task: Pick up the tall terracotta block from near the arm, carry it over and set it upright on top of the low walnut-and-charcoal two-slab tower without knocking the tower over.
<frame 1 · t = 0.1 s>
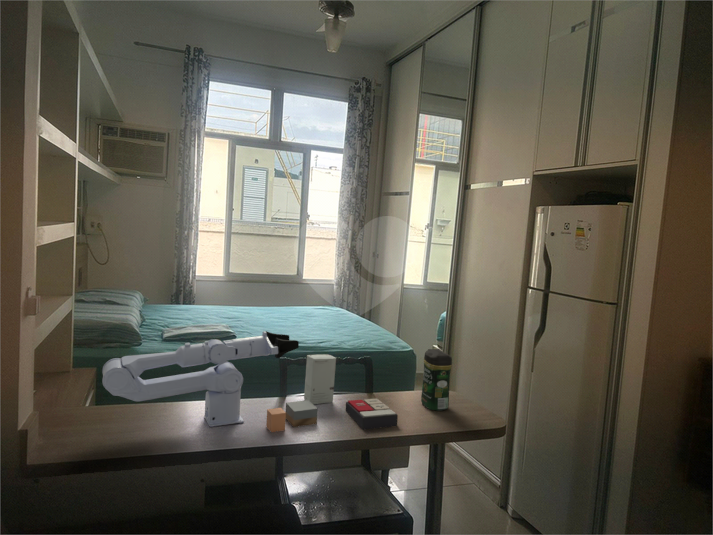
hand: (293, 341, 143), 22 cm above the table, tool horizontal, fingers open, 7 cm apart
tower base slab: (300, 422, 137), on the table, touching tower top slab
terracotta block: (275, 428, 131), on the table
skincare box: (318, 401, 154), on the table
coffee jar: (434, 406, 156), on the table
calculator: (370, 419, 143), on the table
tower top slab: (301, 413, 137), point 2 cm above the table, touching tower base slab
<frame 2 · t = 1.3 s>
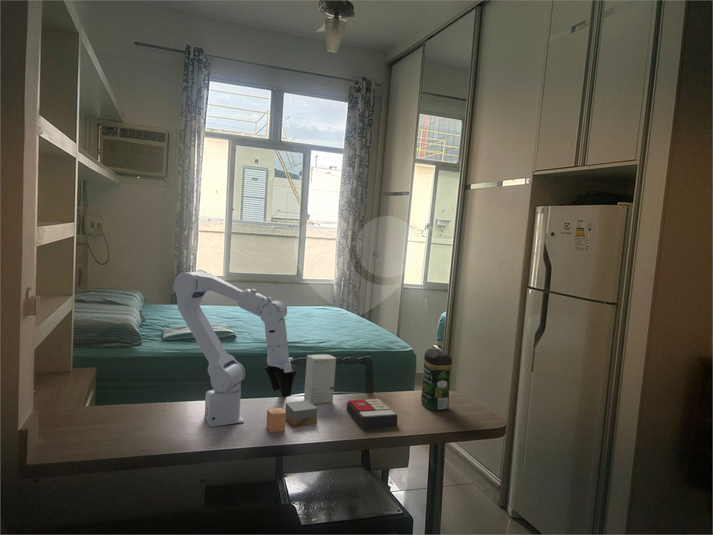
hand: (281, 393, 131), 10 cm above the table, tool pointing down, fingers open, 7 cm apart
nothing on the table moved.
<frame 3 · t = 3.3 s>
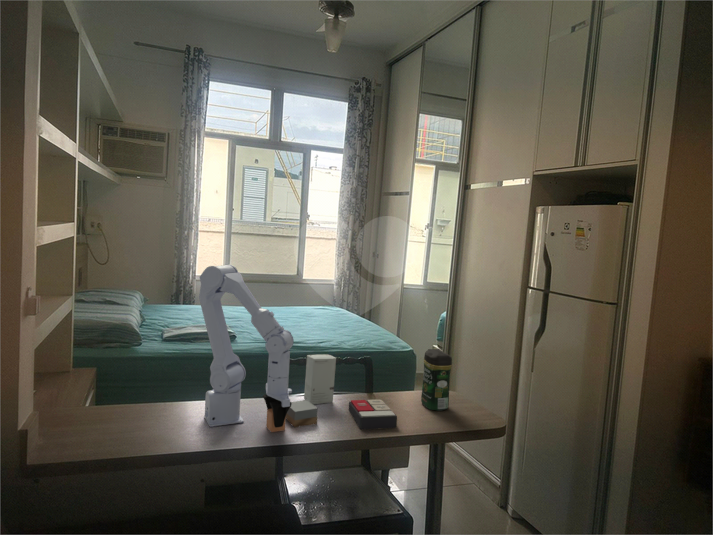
hand: (275, 423, 131), 1 cm above the table, tool pointing down, fingers closed on terracotta block, 4 cm apart
tower base slab: (300, 422, 137), on the table
terracotta block: (275, 428, 131), on the table, touching gripper
tower top slab: (300, 413, 137), point 2 cm above the table
everything else where it was.
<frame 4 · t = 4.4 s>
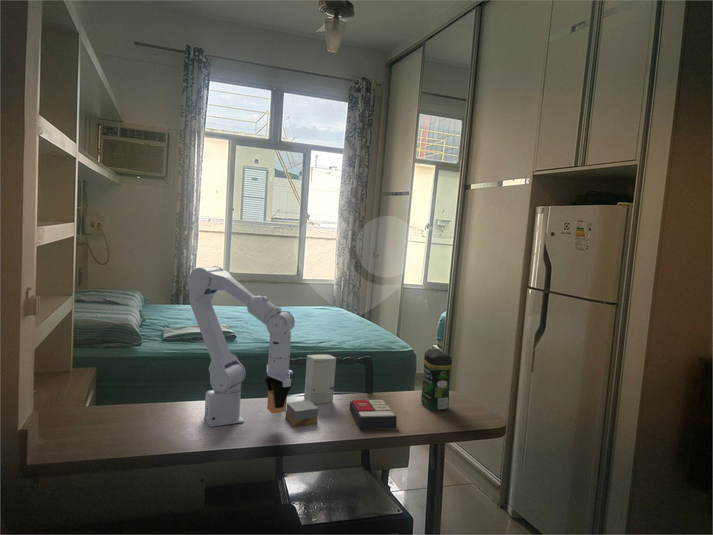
hand: (276, 404, 131), 7 cm above the table, tool pointing down, fingers closed on terracotta block, 4 cm apart
tower base slab: (300, 422, 137), on the table, touching tower top slab
terracotta block: (276, 409, 131), point 5 cm above the table, touching gripper
tower top slab: (302, 413, 137), point 2 cm above the table, touching tower base slab
everything else where it was.
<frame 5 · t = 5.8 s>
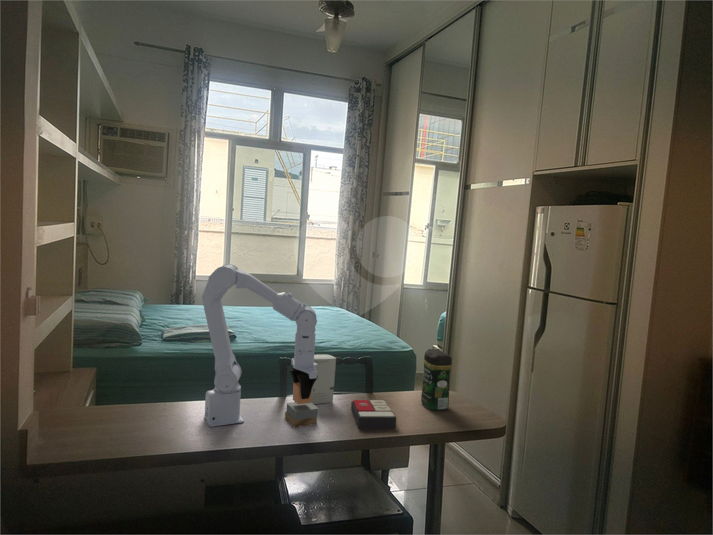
hand: (302, 395, 137), 7 cm above the table, tool pointing down, fingers closed on terracotta block, 4 cm apart
tower base slab: (300, 422, 137), on the table
terracotta block: (301, 401, 137), point 6 cm above the table, touching gripper
tower top slab: (302, 414, 137), point 2 cm above the table
when the fingers open (7 cm above the table, at t = 6.9 s): terracotta block drops 1 cm, resting on tower top slab.
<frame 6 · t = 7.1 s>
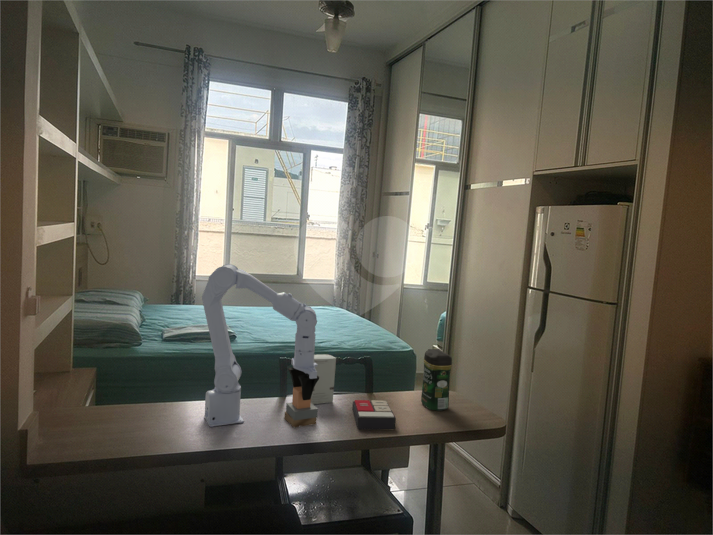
hand: (302, 395, 137), 7 cm above the table, tool pointing down, fingers open, 6 cm apart
tower base slab: (300, 422, 137), on the table, touching tower top slab
terracotta block: (301, 405, 137), point 4 cm above the table, touching tower top slab
tower top slab: (301, 414, 137), point 2 cm above the table, touching terracotta block, tower base slab
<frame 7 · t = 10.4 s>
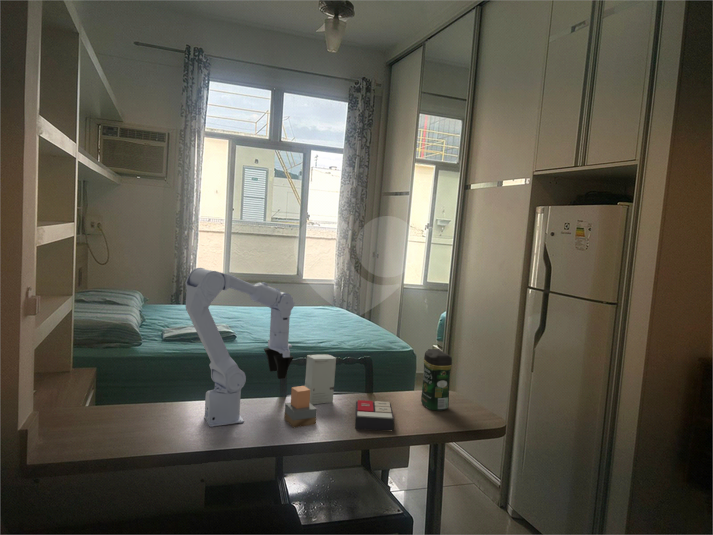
hand: (277, 374, 145), 10 cm above the table, tool pointing down, fingers open, 7 cm apart
terracotta block: (299, 405, 137), point 4 cm above the table
tower top slab: (300, 414, 137), point 2 cm above the table, touching tower base slab
at the end: terracotta block 0.4 cm off-centre on the tower top slab, point 2.5 cm above the tower top slab's base; terracotta block tilted 1°; tower top slab 0.4 cm from the target spot, point 2.0 cm above the table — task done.
